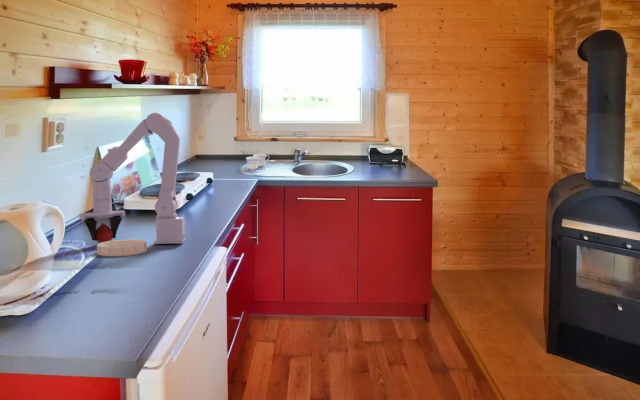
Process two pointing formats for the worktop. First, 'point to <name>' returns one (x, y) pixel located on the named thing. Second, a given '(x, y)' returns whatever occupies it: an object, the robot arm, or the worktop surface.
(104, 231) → the onion
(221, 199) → the worktop surface
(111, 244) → the dish
